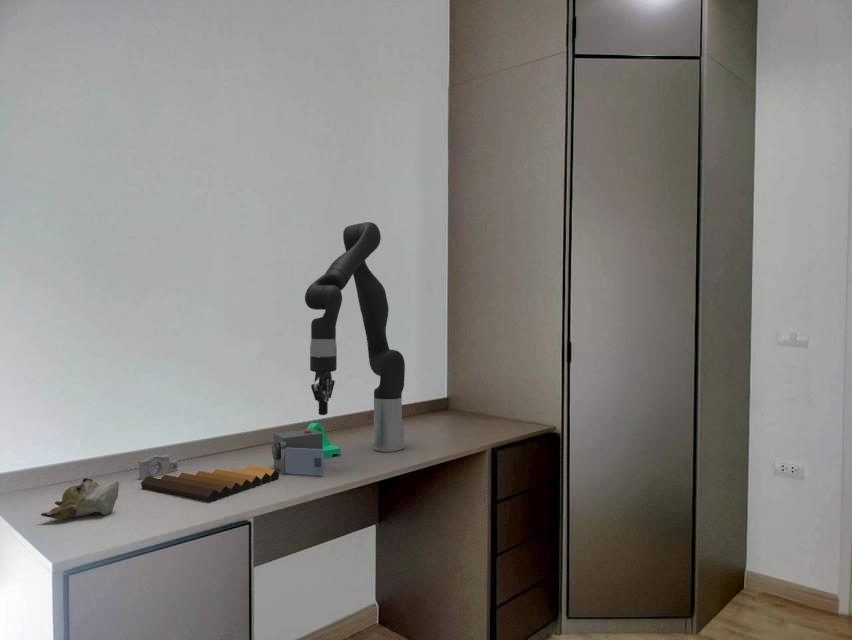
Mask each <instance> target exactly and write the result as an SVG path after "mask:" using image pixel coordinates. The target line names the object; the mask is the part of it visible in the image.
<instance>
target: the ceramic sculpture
mask: <svg viewBox="0 0 852 640" xmlns="http://www.w3.org/2000/svg"><path fill="white" fill-rule="evenodd" d="M119 486H120V481H118V480H117V481H115V482H112V483H110V484H107V485H100V484H98V482H97V481H96V480H93V479H92V478H85V477H84V478H83V479H82V481H81V483H75V484H72V485H71V486H69V487H68V488H67V489H65V491H64V492H63V494H62V499H61V501H59V500H56V501H54V505H56V507H54V508H52V509H50V510H49V511H46V512H43V513H41V514H40V516H42V517H45V518H50V519H58V520H61V519H66V518H68V517H69V518H70V517H74V518H75V517H76V518H77V517H78V518H79V517H86V516H88V515H91V514H94V513H100V514H102V515H109V514H111V513H112V511H113V510H114V507H115V504H116V501H117V500H118V497H119V490H120V489H119Z"/></svg>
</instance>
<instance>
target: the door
mask: <svg viewBox="0 0 852 640" xmlns="http://www.w3.org/2000/svg"><path fill="white" fill-rule="evenodd" d="M324 460H325V459H324V449H307V448H285V447H282V448H281V471H280V473H281V474H300V475H302V474H303V475H320V476H321V475H322V476H323V475H324V473H325V471H324V470H325V468H324V467H325V466H324V465H325V463H324V462H325V461H324Z"/></svg>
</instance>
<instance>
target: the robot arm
mask: <svg viewBox="0 0 852 640" xmlns="http://www.w3.org/2000/svg"><path fill="white" fill-rule="evenodd" d="M342 238H343V239H342V240H343V244H344V245H343V246H344V249H345V252H343V253H342V254H341V255H340V256H338V257H337V258H336V259H335V260H334V261H333V262H332V263H331V264H330V266H329V267H328V268H327V270H326V272H325V273H324V274H323V275H321V276H320V277H319V278H317V279H316V280H314V281H313V282H312V283H311V284H310V285H309V286H308V288H307V289H306V292H305V295H304V301H305V304H306V305H307V307H308V308H309V309H310V310H319V311H320V310H321V311H322V310H324V313H323V314H322V316H321V317H317V318H314V319H312V320H311V323H310V324H311V325H310V326H311V327H310V330H311V331H310V336H311V337H310V344H309V345H310V346H309V347H310V348H309V371H311V372H313V373H315V374H314V375H315V376H314V380H313V381H314V383H313V384H311V388H310V389H311V390H312V394H313V398H314V400H315V401H317V403H318V415H320V416H326V415H328V412H329V410H328V409H329V404H328V403H329V400H330V399H331V397H332V395H333V390H334V388H335V387H334V386H335V382H336V381H335V380H334V379H333V378H332V372H335V371H336V370H337V365H338V364H337V360H338V359H337V358H338V357H337V353H338V352H337V341H336V340H337V339H336V338H337V331H336V329H337V328H336V327H337V323H338V317H339V313H340V309H341V307H342V302H343V294H342V291H343V290H344V289H345V287H346V286H347V284H348V282H349V281H350V280H351V278H352V277H353V280H354V283H355V288H356V294H357V299H358V305H359V309H360V313H361V317H362V321H363V328H364V331H365V336H366V343H367V352H368V354H367V355H368V360H369V361H368V362H369V367H370V369H371V371H372V373H374V375H376V376H379V384H378V387H376V388H374V390H373V450H375V451H376V452H383V453H384V452H385V453H388V452H389V453H391V452H392V453H393V452H398V451H401V450H404V449H405V420H404V419H402V418H403V416H402V415H403V412H402V411H403V409H402V408H403V407H402V403H403V401H402V400H403V399H402V397H403V391H404V387H405V373H406V372H405V371H406V370H405V369H406V368H405V367H406V365H405V358H404V356H403V355H402V353H401V352H400V351H399V350H396V349H391V348H390V347H389V343H388V338H387V331H386V330H387V323H388V318H389V303H388V298H387V293H386V289H385V288H384V285H383V284H382V283H381V282H380V280H379V279H378V277H376V276H375V274H374V273H373V272H372V271H371V270H370V268H369V267H368V265H367V263H366V259H368V257H370V256H371V255H372V253H374V252H375V251H376V249H377V248H378V247H379V246H380V244H381V240H382V239H381V238H382V237H381V230H380V228H379V227H378V225H377V224H376V223H374V222H369V221H368V222H366V221H365V222H361V223H356V224H350V225H347V226H346V227H345V228H344V230H343V233H342Z"/></svg>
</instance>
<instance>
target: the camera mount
mask: <svg viewBox="0 0 852 640" xmlns="http://www.w3.org/2000/svg"><path fill="white" fill-rule="evenodd" d="M306 429H313V430H315V431H318V432H320V433H323V449H324V460H325V459H330V458H333V455H336V454H340V453H341V452H342V451H341V449H342V448H341V447H340V446H336V445H334V444H332V443H331V442H330V440H329V438H328V436H327V435H326V433H325V427H324V426H323V424H321V423H317V422H311V423H310V424H309V425H308V426H307V428H306ZM341 454H342V453H341Z"/></svg>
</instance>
